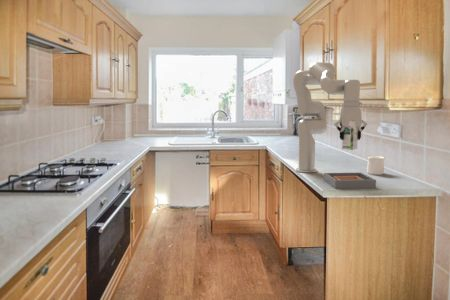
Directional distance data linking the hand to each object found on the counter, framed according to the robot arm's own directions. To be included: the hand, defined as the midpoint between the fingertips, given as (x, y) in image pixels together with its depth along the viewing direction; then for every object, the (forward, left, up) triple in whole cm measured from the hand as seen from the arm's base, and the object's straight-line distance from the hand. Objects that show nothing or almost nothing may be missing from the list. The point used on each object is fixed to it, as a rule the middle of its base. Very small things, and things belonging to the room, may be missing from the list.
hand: (350, 139), depth 207 cm
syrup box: (0, 0, -5) cm, 5 cm away
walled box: (0, 0, -23) cm, 23 cm away
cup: (-28, +25, -23) cm, 44 cm away
